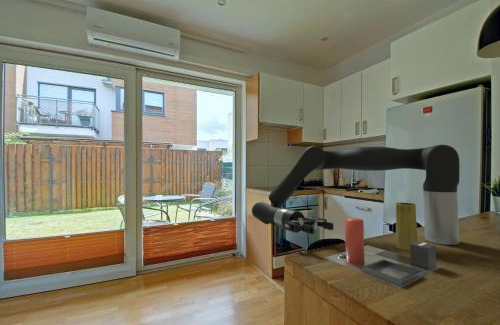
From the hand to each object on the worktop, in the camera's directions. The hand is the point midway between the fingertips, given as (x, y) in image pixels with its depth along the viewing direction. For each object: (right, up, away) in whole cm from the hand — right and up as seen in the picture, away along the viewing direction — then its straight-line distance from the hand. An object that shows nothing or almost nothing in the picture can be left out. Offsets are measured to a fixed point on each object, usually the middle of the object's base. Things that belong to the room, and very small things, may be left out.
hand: (323, 228), depth 73 cm
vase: (+26, -7, +1) cm, 27 cm away
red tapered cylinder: (+6, -6, -9) cm, 12 cm away
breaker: (+22, -6, -13) cm, 26 cm away
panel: (+12, -6, -10) cm, 17 cm away
